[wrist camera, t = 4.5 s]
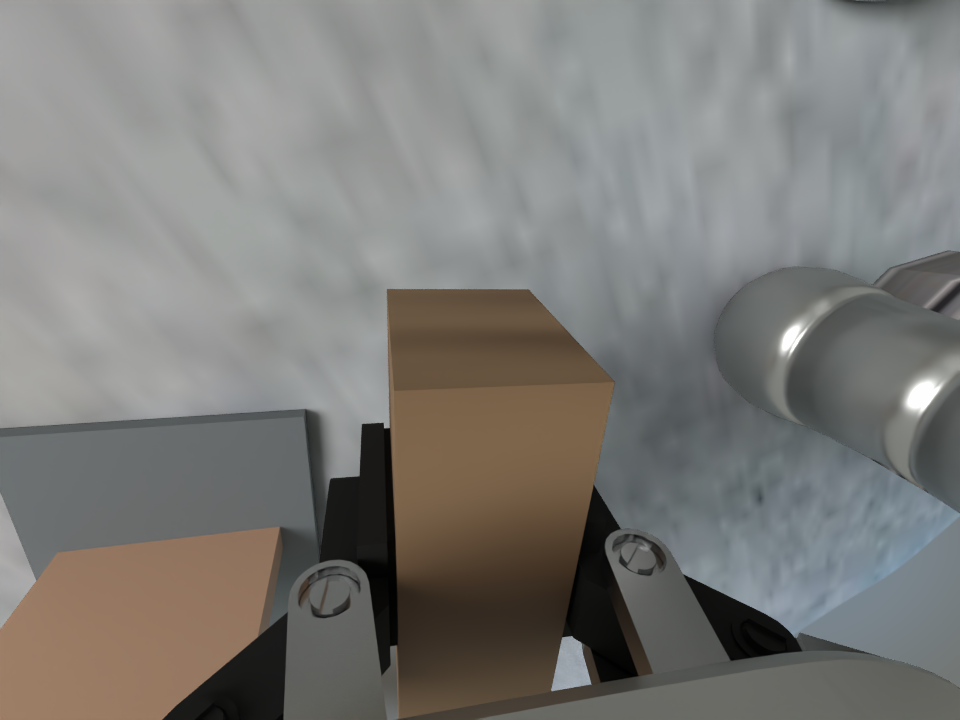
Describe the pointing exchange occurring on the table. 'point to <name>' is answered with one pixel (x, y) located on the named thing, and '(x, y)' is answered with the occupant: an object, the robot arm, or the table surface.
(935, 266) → the ribbed tin
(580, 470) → the tall brown block
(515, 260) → the table surface
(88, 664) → the tile
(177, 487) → the mat
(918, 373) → the silver bottle
